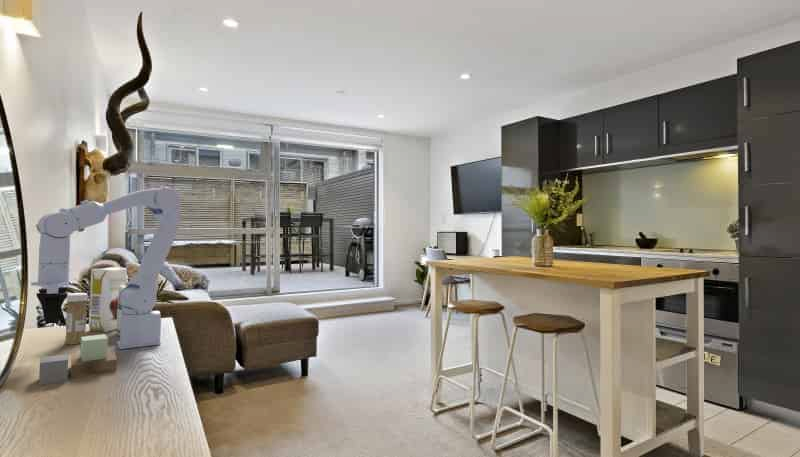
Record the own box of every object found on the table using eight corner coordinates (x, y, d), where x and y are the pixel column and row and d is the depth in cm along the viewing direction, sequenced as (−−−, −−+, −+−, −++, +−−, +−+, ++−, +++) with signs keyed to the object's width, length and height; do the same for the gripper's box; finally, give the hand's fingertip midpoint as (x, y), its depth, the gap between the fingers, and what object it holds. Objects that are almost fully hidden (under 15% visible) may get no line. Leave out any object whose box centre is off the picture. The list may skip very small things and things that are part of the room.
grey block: (67, 375, 91) (68, 354, 91) (67, 381, 88) (68, 359, 88) (40, 378, 89) (41, 357, 89) (38, 385, 85) (39, 363, 85)
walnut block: (113, 363, 101) (113, 350, 101) (116, 372, 95) (116, 359, 95) (70, 369, 96) (71, 355, 96) (71, 379, 90) (71, 365, 90)
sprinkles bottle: (85, 343, 115) (87, 294, 115) (63, 345, 113) (65, 295, 113) (86, 339, 119) (88, 292, 119) (65, 341, 116) (67, 292, 117)
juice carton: (84, 331, 128) (86, 268, 128) (107, 325, 137) (110, 266, 137) (105, 333, 127) (108, 269, 127) (128, 327, 135) (130, 267, 136)
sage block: (104, 353, 99) (105, 334, 99) (107, 358, 96) (107, 338, 96) (80, 356, 96) (81, 336, 96) (82, 361, 93) (83, 341, 93)
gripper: (33, 261, 104) (31, 316, 104) (30, 266, 93) (27, 327, 93) (70, 260, 109) (67, 313, 109) (70, 265, 97) (68, 324, 97)
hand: (51, 320), depth 101 cm, fingers open, 7 cm apart
